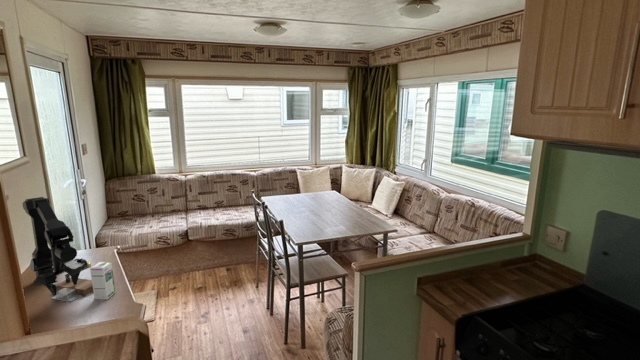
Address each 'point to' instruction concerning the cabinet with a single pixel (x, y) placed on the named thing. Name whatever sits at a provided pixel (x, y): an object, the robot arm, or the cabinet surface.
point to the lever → (67, 276)
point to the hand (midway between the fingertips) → (65, 289)
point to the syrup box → (102, 280)
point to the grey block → (65, 293)
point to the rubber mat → (69, 299)
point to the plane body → (77, 286)
